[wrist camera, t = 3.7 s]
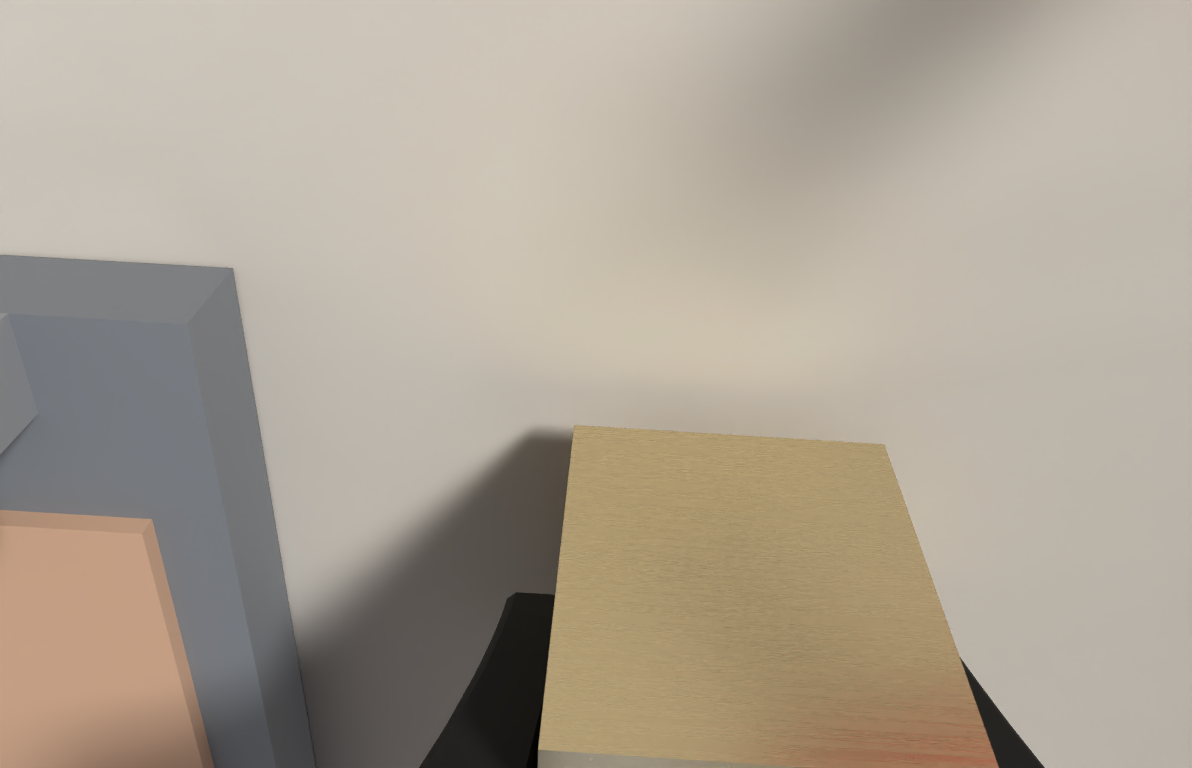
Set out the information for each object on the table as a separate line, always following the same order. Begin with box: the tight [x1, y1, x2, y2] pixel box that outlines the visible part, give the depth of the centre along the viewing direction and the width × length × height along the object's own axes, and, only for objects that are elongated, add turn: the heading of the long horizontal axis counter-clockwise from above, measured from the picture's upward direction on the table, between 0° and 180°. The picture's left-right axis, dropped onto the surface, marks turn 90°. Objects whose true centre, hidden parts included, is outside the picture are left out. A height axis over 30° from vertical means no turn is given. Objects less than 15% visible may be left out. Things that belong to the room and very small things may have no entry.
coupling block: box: [538, 425, 999, 768], centre depth 12 cm, size 5×4×5 cm
